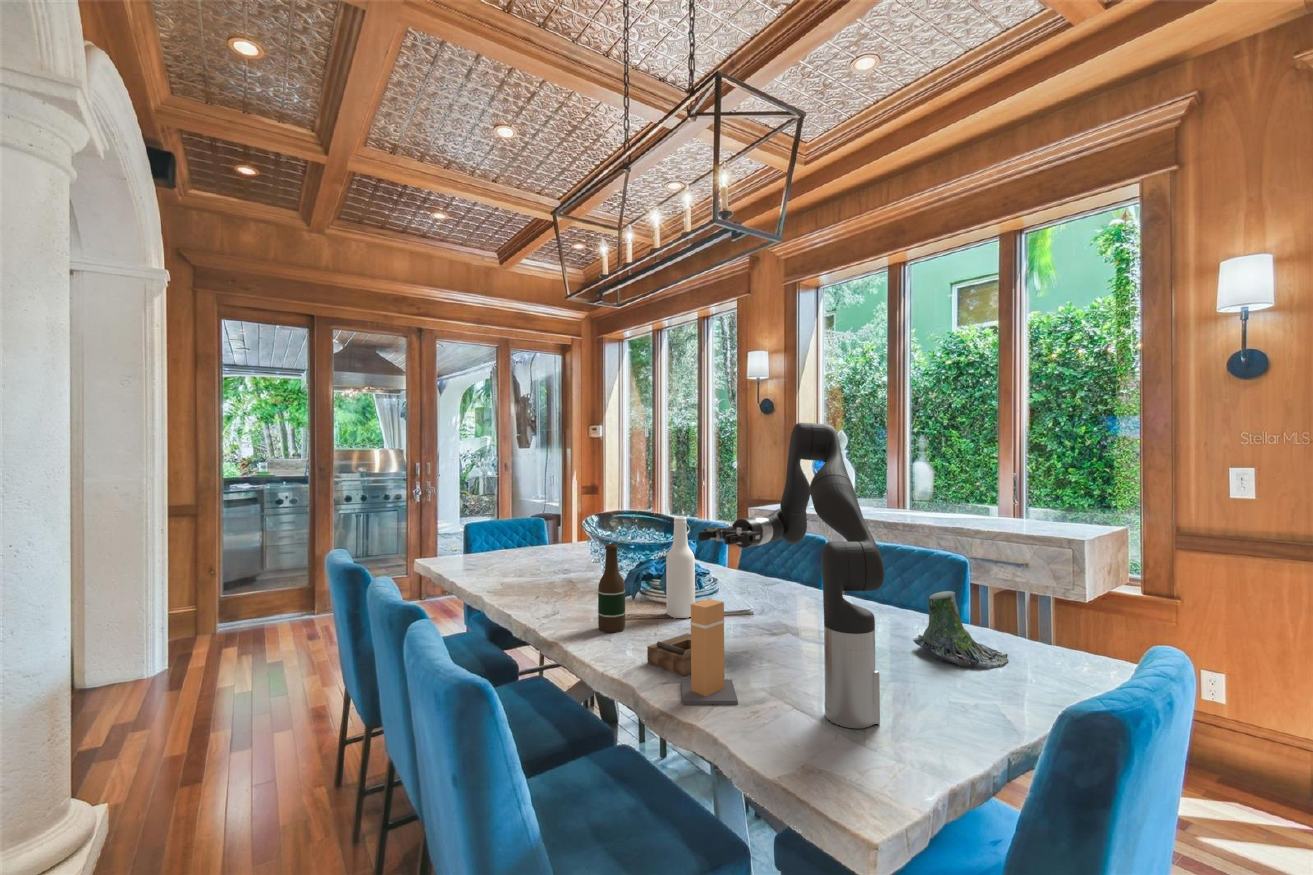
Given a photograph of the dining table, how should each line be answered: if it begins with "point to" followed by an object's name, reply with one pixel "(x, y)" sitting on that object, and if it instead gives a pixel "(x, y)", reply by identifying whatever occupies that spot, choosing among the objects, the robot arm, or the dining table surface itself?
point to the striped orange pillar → (707, 647)
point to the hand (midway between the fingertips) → (712, 538)
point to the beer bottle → (611, 595)
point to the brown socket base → (672, 654)
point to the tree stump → (954, 637)
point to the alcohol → (680, 573)
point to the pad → (719, 697)
